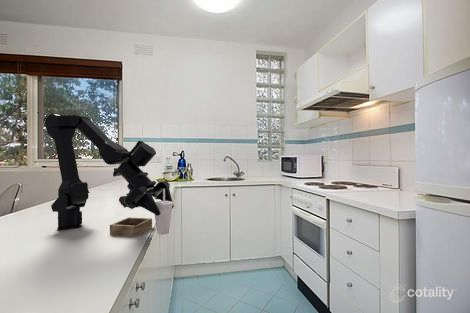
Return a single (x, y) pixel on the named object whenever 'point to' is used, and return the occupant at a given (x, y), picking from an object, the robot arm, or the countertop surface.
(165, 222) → the smoothie
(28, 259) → the countertop surface
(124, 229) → the socket block
